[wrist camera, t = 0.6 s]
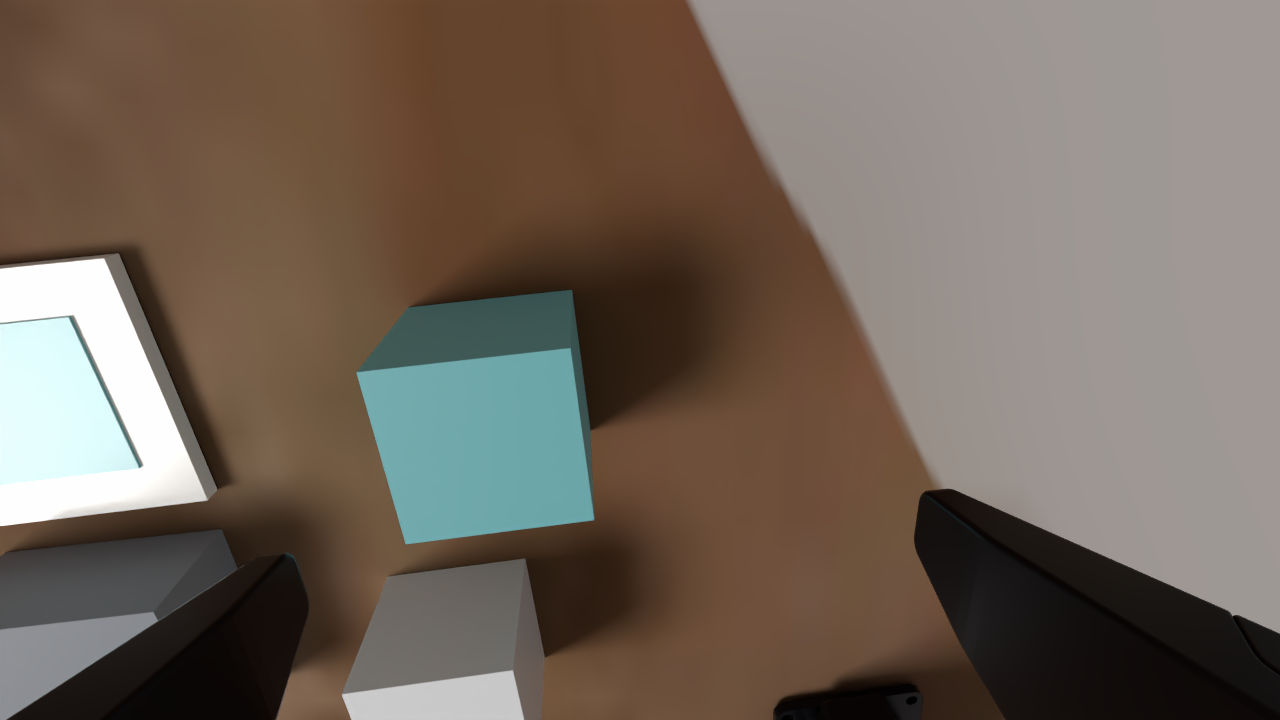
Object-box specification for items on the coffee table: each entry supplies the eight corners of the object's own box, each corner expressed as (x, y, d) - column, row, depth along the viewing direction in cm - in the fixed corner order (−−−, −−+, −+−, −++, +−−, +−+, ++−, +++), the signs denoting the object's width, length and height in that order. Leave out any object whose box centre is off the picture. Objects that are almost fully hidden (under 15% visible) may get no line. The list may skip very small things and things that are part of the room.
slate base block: (283, 671, 24) (231, 772, 21) (95, 694, 24) (8, 802, 20) (225, 524, 22) (153, 611, 18) (11, 547, 21) (-107, 641, 18)
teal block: (590, 429, 21) (594, 520, 17) (442, 447, 21) (405, 544, 17) (572, 288, 19) (570, 348, 15) (408, 306, 19) (356, 372, 15)
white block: (544, 655, 25) (537, 780, 21) (419, 673, 25) (383, 802, 20) (525, 557, 23) (513, 670, 19) (388, 574, 23) (341, 694, 18)
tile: (217, 489, 21) (206, 502, 20) (-36, 520, 20) (-56, 534, 20) (118, 252, 18) (101, 258, 17) (-183, 284, 17) (-212, 290, 17)
